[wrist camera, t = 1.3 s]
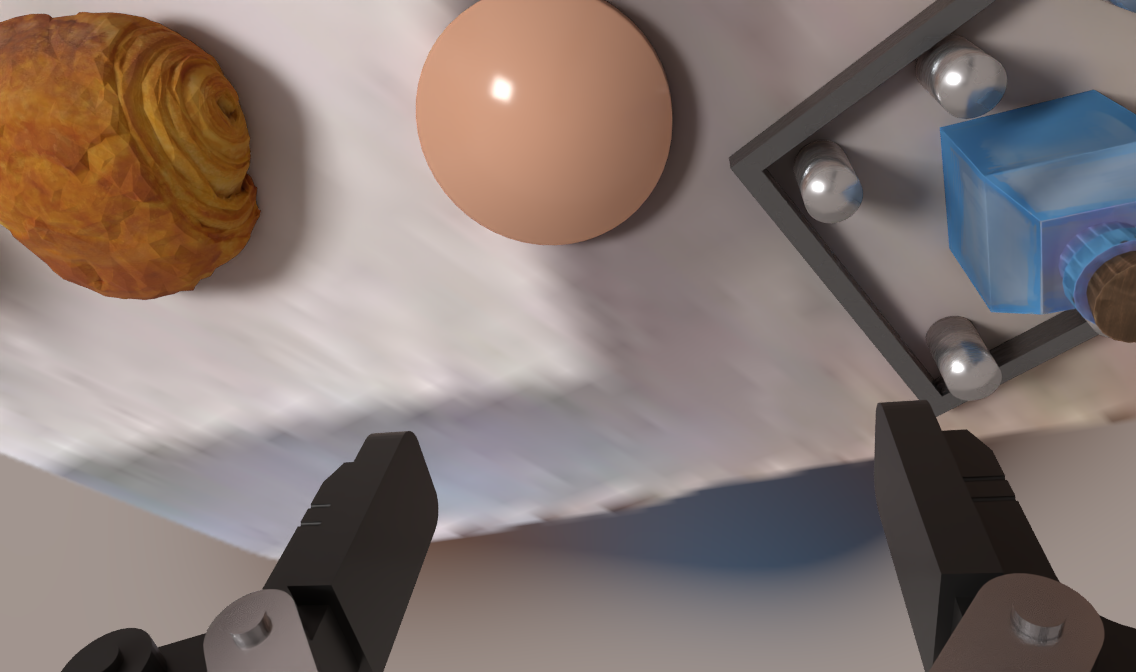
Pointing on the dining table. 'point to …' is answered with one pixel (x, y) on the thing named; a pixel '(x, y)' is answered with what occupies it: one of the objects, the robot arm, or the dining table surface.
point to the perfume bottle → (1048, 209)
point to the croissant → (121, 153)
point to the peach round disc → (545, 117)
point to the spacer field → (836, 193)
